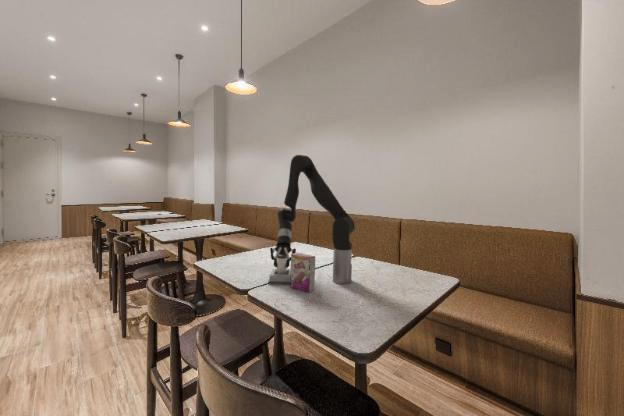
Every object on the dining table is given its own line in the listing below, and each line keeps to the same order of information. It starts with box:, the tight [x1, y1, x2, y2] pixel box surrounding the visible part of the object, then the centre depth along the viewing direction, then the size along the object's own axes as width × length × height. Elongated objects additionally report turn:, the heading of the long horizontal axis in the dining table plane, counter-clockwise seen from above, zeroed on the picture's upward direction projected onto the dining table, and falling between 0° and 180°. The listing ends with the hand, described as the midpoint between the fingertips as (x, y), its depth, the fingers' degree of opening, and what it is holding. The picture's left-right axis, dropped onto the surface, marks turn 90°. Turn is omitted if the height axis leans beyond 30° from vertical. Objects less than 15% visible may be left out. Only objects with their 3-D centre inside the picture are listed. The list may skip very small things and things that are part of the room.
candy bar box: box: [289, 252, 316, 293], centre depth 127 cm, size 11×5×16 cm, turn 58°
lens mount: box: [267, 268, 291, 286], centre depth 139 cm, size 12×12×4 cm
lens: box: [276, 254, 288, 275], centre depth 138 cm, size 5×5×10 cm
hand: (281, 266), depth 136 cm, fingers closed on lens, 5 cm apart
